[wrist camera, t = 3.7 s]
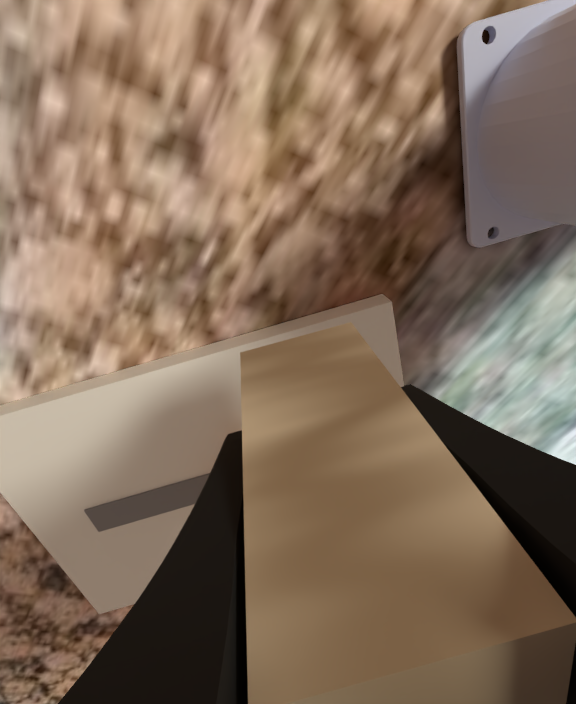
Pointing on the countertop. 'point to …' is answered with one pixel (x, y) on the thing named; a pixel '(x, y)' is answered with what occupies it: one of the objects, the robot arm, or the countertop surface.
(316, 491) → the tall stone pillar
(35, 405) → the switch panel
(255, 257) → the countertop surface
